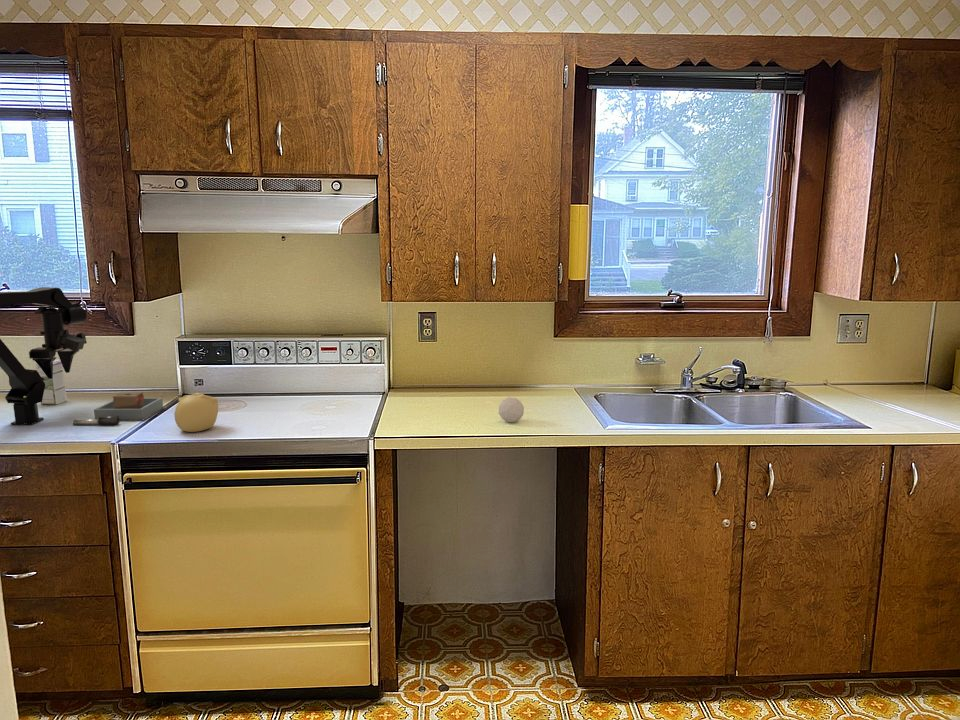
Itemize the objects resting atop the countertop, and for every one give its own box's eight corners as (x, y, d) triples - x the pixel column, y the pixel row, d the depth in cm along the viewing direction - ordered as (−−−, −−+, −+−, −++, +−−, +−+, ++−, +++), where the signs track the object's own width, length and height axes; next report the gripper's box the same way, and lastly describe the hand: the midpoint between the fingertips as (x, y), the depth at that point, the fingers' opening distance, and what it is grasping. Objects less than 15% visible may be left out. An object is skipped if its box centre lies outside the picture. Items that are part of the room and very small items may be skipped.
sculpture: (224, 423, 213) (221, 389, 211) (209, 435, 201) (206, 398, 199) (186, 423, 213) (183, 389, 211) (169, 435, 201) (166, 398, 199)
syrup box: (67, 400, 241) (62, 359, 238) (55, 405, 235) (50, 362, 232) (52, 400, 241) (47, 359, 239) (39, 404, 236) (34, 362, 233)
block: (137, 414, 221) (135, 395, 220) (114, 414, 221) (112, 396, 220) (145, 410, 226) (143, 392, 225) (122, 410, 226) (121, 392, 225)
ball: (517, 431, 214) (527, 414, 209) (493, 423, 213) (503, 406, 208) (519, 413, 220) (529, 397, 215) (495, 405, 219) (505, 388, 214)
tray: (142, 420, 216) (141, 409, 216) (95, 420, 216) (93, 409, 216) (163, 408, 231) (162, 397, 230) (118, 408, 231) (117, 398, 230)
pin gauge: (119, 423, 213) (118, 415, 213) (115, 425, 211) (114, 417, 210) (76, 423, 213) (75, 415, 213) (72, 426, 210) (71, 417, 210)
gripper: (61, 331, 212) (67, 382, 215) (95, 323, 230) (100, 369, 233) (24, 331, 212) (31, 382, 215) (61, 323, 230) (66, 369, 233)
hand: (59, 375), depth 224 cm, fingers open, 9 cm apart
